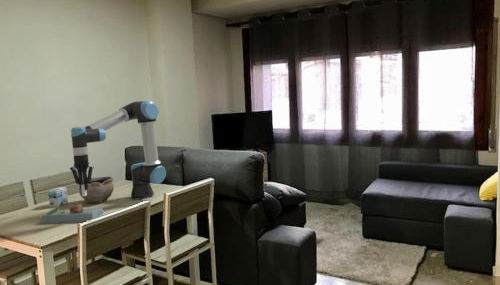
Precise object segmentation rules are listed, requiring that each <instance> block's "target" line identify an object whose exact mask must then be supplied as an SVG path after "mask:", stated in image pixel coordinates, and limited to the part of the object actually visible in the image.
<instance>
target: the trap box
mask: <svg viewBox="0 0 500 285" xmlns="http://www.w3.org/2000/svg"><path fill="white" fill-rule="evenodd" d="M103 215H104V208H88V209H87V208H86V209H83V213H80V214H70V212H66V210H65V209H61V210H59V207H54V208H53V209H50V210H49V211H47V212H45V213H44V214H42V215H41V223H42V224H56V223H58V224H60V223H79V222H80V223H81V222H82V223H84V222H83V221H87V220H91V219H94V218H97V217H98V218H99V217H101V216H103ZM98 218H97V219H98Z"/></svg>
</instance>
